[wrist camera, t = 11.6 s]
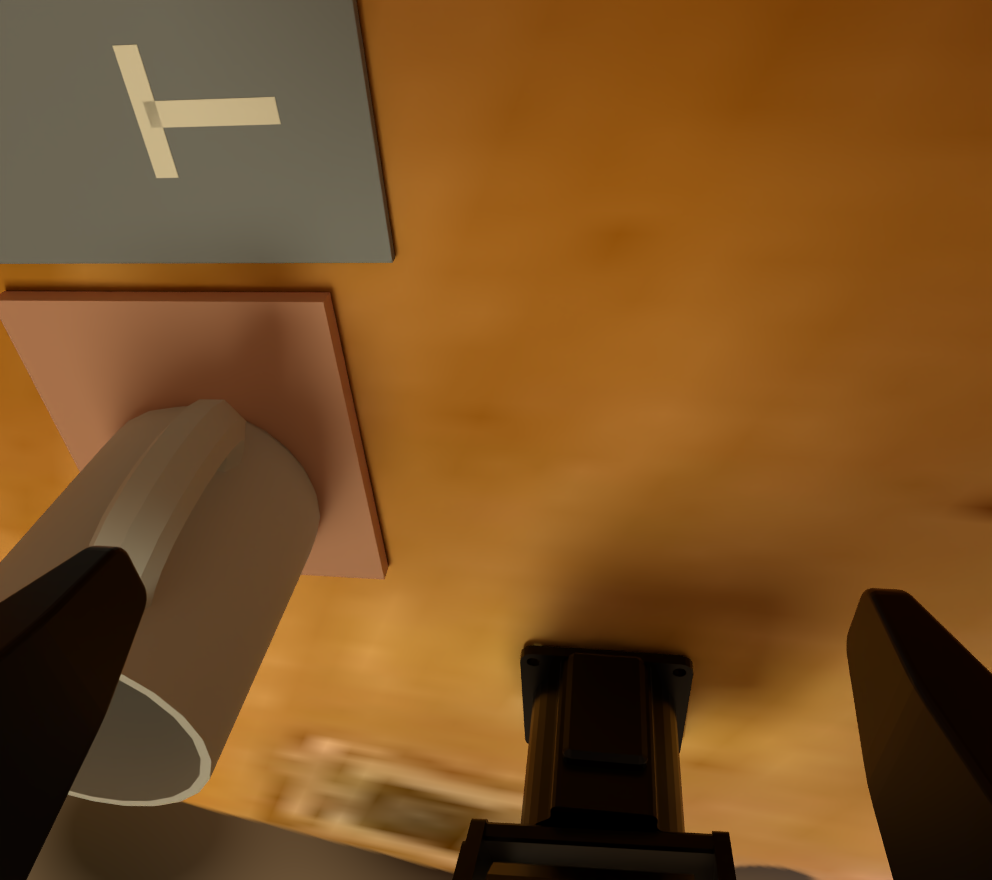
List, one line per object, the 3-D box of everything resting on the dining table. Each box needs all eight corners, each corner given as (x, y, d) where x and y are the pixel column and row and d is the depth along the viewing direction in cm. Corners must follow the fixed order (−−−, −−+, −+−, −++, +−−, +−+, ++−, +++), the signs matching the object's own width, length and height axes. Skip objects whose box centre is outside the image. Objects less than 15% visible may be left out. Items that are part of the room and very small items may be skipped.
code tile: (395, 257, 20) (392, 263, 19) (-74, 259, 21) (-82, 264, 21) (292, -422, 12) (286, -429, 12) (-402, -329, 14) (-420, -333, 14)
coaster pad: (388, 566, 27) (384, 579, 27) (136, 553, 28) (127, 564, 28) (329, 292, 20) (323, 302, 20) (4, 291, 22) (-9, 300, 21)
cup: (104, 515, 26) (-80, 748, 19) (134, 286, 20) (-116, 504, 13) (296, 587, 28) (187, 833, 21) (378, 391, 22) (264, 642, 15)
